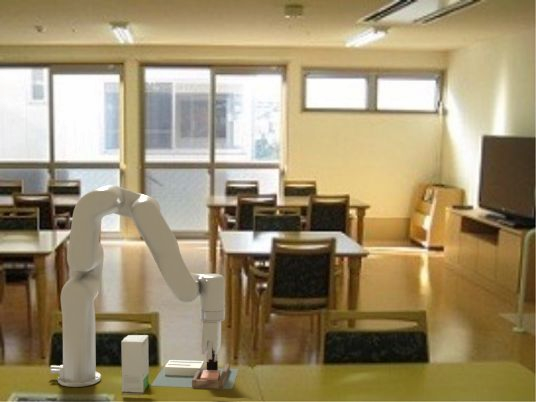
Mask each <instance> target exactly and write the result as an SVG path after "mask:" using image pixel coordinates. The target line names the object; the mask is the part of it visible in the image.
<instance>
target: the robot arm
mask: <svg viewBox="0 0 536 402" xmlns="http://www.w3.org/2000/svg"><path fill="white" fill-rule="evenodd" d="M112 214H114V215H118V216H120V217H121V216H122V217H124V218H128V219H131V221H132V223H133V224H134V227H135V229H136V230H137V231H138V233H139V235H140V236H141V238H142V240H143V241H144V243H145V245H146V247H147V249H148V250H149V252H150V254H151V256H152V258H153V261H154V262H155V265H156V266H157V268H158V270H159V272H160V274H161V275H162V277H163V280H164V282H165V283H166V285H167V287H168V288H169V289H170V291H171V293H172V295H173V296H174V298H175V299H176V300H177V301H179V302H180V303H184V304H188V303H189V304H190V303H192V302H194V301H195V300H196V299H197V298H198V296H199V320H200V322H202V326H201V327H202V328H201V345H200V346H201V347H200V348H201V349H200V353H201V355H205V354H206V368H207V370H218V368H219V367H218V366H219V363H218V362H219V361H218V355H219V353H218V352H219V351H220V349H221V346H222V322H223V321H225V319H226V317H225V316H226V311H225V310H226V299H225V297H226V278H225V276H224V275H222V274H220V273H206V274H205V273H196V272H190V270H189V269H188V267H187V265H186V263H185V262H184V259H183V256H182V254H181V252H180V251H181V250H180V247H179V243H178V240H177V238H176V236H175V235H174V232H173V231H172V229H171V228H170V226H169V225H168V223H167V221H166V219H165V218H164V216H163V214H162V212H161V206H160V204H159V202H158V200H157V199H156V198H154V197H152V196H150V195H146V194H143V193H140V192H136V191H133V190H130V189H127V188H124V187H121V186H117V185H114V184H108V185H103V186H101V187H98V188H96V189H94V190H93V189H92V190H91V191H88V192H87V193H85V194H84V195H82V197H80V198H79V200H78V201H77V203H76V204H75V207H74V209H73V213H72V218H71V225H70V233H69V242H68V248H67V249H68V251H67V254H66V257H67V258H66V261H67V265H68V266H69V269H71V271H70V279H68V280H67V281H66V282H65V283H64V285H63V287H62V288H61V292H60V307H61V318H62V325H61V326H62V364H60V365H53V364H52V365H50V368H49V371H50V374H51V375H57V374H58V377H57V383H58V385H61V386H64V387H69V388H77V387H80V388H82V387H88V386H91V385H94V384H97V383H98V382H100V381H101V378H102V374H101V373H100V372H98V371H96V368H97V367H96V363H97V362H96V359H97V358H96V313H95V312H96V311H95V299H96V298H97V297H98V295H99V293H100V290H101V284H102V275H103V268H104V267H103V266H104V259H105V256H104V255H105V253H104V247H103V245H102V244H101V242H100V235H101V223H102V220H103V218H105V217H106V216H109V215H112Z"/></svg>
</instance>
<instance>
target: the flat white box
mask: <svg viewBox="0 0 536 402" xmlns="http://www.w3.org/2000/svg"><path fill="white" fill-rule="evenodd" d="M204 368H205V361H204V360H180V359H179V360H177V359H170V360H168V361H167V363H166V364H165V375H183V376H195V374H196V372H197V370H201V374H202V372H203V370H204Z"/></svg>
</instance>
